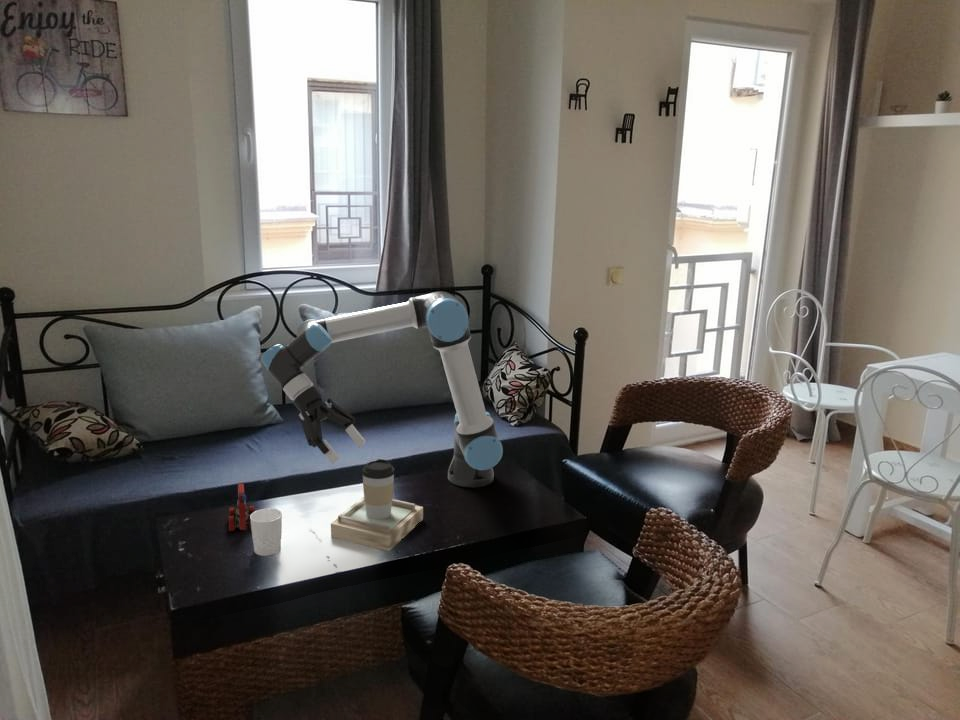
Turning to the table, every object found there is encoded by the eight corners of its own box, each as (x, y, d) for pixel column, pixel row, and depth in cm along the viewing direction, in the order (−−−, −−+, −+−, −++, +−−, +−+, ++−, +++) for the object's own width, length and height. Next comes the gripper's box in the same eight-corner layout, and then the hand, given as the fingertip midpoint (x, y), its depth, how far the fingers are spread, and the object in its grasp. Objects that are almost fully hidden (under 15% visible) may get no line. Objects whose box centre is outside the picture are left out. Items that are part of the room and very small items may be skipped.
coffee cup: (388, 522, 197) (388, 471, 193) (357, 518, 199) (356, 468, 195) (398, 508, 206) (399, 459, 202) (368, 504, 207) (368, 456, 203)
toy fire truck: (229, 537, 195) (226, 501, 193) (229, 516, 207) (227, 483, 204) (255, 534, 198) (254, 499, 195) (254, 513, 209) (253, 480, 206)
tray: (368, 507, 215) (368, 490, 214) (422, 519, 209) (423, 502, 207) (331, 536, 197) (330, 518, 196) (388, 551, 191) (388, 532, 189)
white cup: (245, 553, 187) (243, 518, 185) (264, 539, 194) (262, 506, 192) (271, 559, 185) (269, 524, 182) (289, 545, 192) (287, 511, 189)
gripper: (321, 389, 215) (365, 445, 213) (267, 413, 193) (316, 476, 191) (335, 375, 212) (380, 431, 210) (283, 397, 189) (332, 461, 188)
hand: (350, 452), depth 201 cm, fingers open, 13 cm apart
